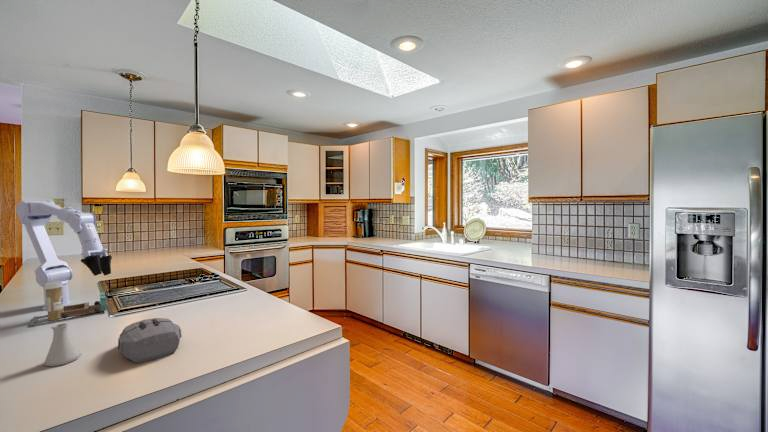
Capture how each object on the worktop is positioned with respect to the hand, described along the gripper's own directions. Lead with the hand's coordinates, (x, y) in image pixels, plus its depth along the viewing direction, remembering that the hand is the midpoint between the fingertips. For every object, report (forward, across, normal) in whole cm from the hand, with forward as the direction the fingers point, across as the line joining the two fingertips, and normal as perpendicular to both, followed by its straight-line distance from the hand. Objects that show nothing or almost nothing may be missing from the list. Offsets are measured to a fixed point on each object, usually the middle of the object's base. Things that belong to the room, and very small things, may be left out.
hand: (103, 274), depth 132 cm
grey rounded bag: (+32, -39, -19) cm, 53 cm away
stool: (+10, +3, +11) cm, 15 cm away
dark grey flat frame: (+10, +1, +15) cm, 18 cm away
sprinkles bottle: (+10, 0, +18) cm, 20 cm away
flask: (+25, -40, 0) cm, 47 cm away
